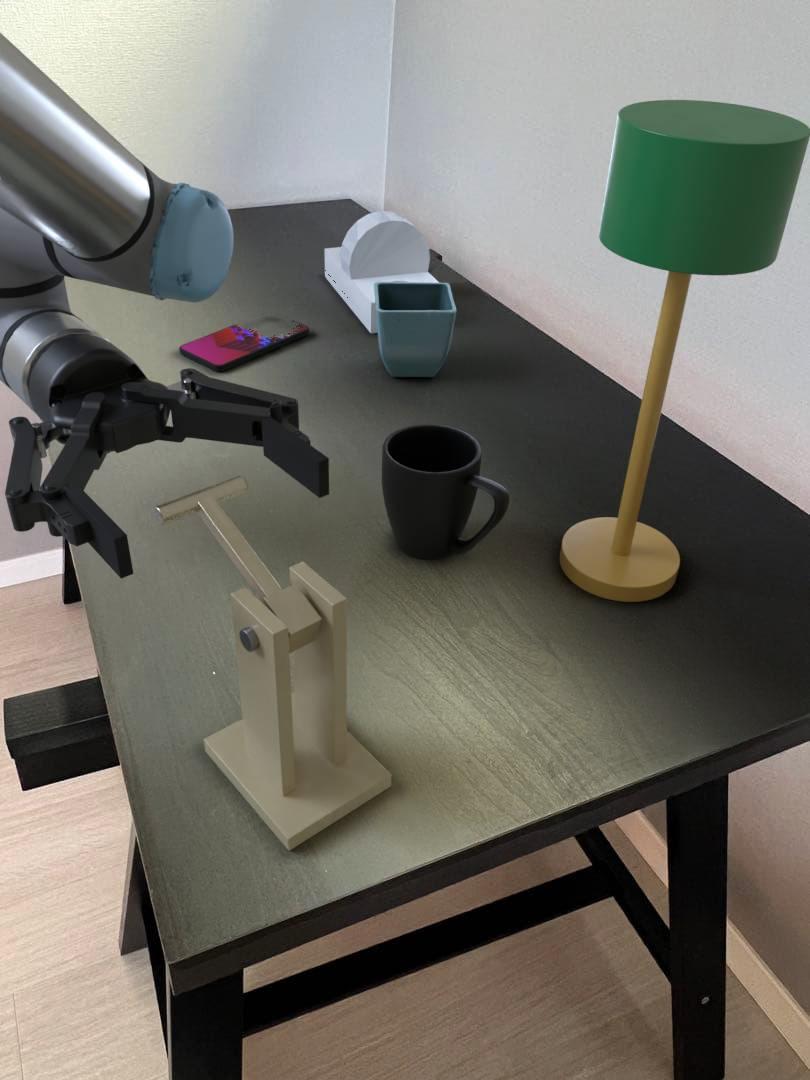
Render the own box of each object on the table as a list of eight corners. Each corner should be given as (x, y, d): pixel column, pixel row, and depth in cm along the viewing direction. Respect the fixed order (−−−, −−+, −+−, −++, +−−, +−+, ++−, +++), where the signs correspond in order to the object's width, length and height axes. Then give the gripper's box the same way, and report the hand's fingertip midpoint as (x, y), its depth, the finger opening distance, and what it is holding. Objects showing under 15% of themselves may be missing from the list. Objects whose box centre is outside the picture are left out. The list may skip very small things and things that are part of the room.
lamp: (526, 580, 80) (592, 124, 58) (575, 511, 88) (648, 92, 67) (666, 628, 75) (792, 154, 54) (703, 550, 84) (825, 116, 63)
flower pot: (372, 352, 114) (373, 280, 109) (444, 353, 115) (449, 281, 110) (374, 385, 107) (376, 310, 102) (451, 386, 108) (457, 311, 102)
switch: (152, 521, 58) (153, 496, 56) (236, 489, 61) (240, 465, 59) (255, 670, 54) (261, 648, 52) (341, 628, 57) (349, 605, 55)
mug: (460, 603, 77) (469, 507, 71) (360, 538, 83) (361, 445, 78) (524, 562, 81) (538, 468, 76) (425, 503, 88) (431, 413, 83)
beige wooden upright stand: (204, 751, 63) (182, 578, 55) (303, 698, 68) (296, 530, 59) (288, 851, 57) (278, 675, 49) (391, 786, 62) (398, 613, 53)
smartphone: (175, 346, 111) (269, 310, 121) (176, 353, 112) (269, 316, 121) (218, 367, 107) (312, 327, 117) (219, 374, 108) (312, 334, 117)
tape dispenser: (450, 323, 122) (456, 237, 115) (369, 333, 119) (370, 245, 112) (397, 269, 137) (399, 189, 130) (323, 276, 133) (322, 195, 127)
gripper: (229, 382, 78) (392, 498, 65) (-89, 480, 64) (37, 649, 51) (222, 295, 73) (395, 400, 60) (-121, 380, 60) (7, 538, 47)
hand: (231, 515), depth 56 cm, fingers open, 13 cm apart
